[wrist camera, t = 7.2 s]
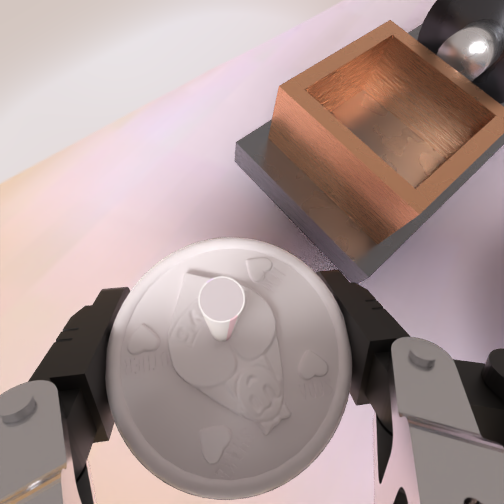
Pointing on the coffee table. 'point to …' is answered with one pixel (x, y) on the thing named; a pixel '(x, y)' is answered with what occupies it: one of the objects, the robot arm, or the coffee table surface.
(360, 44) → the motor mount
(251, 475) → the smoothie
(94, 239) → the coffee table surface
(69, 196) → the coffee table surface
